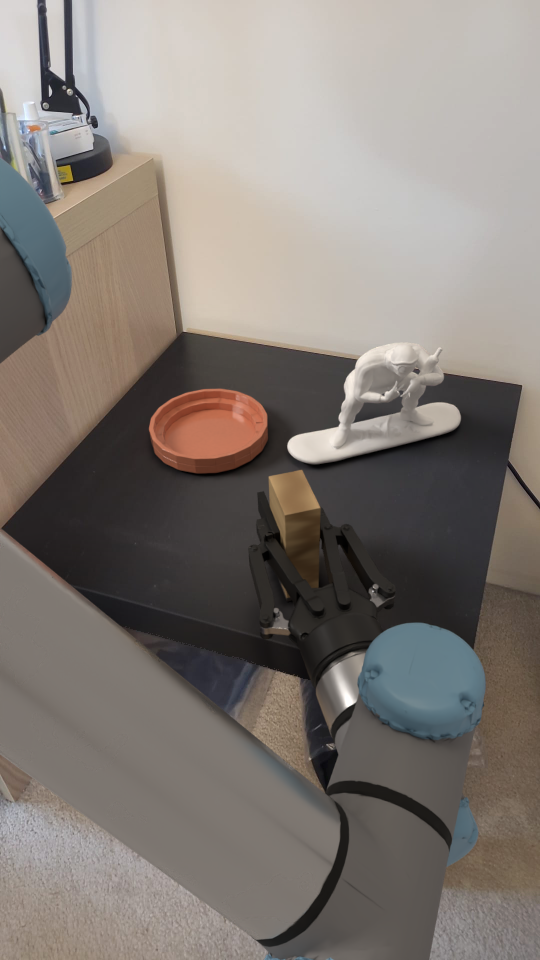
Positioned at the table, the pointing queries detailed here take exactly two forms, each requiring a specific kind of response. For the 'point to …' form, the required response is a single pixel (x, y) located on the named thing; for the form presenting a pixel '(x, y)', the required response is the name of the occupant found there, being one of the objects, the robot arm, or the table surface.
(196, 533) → the table surface
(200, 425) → the bowl
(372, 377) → the figurine
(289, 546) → the wooden block
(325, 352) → the table surface
